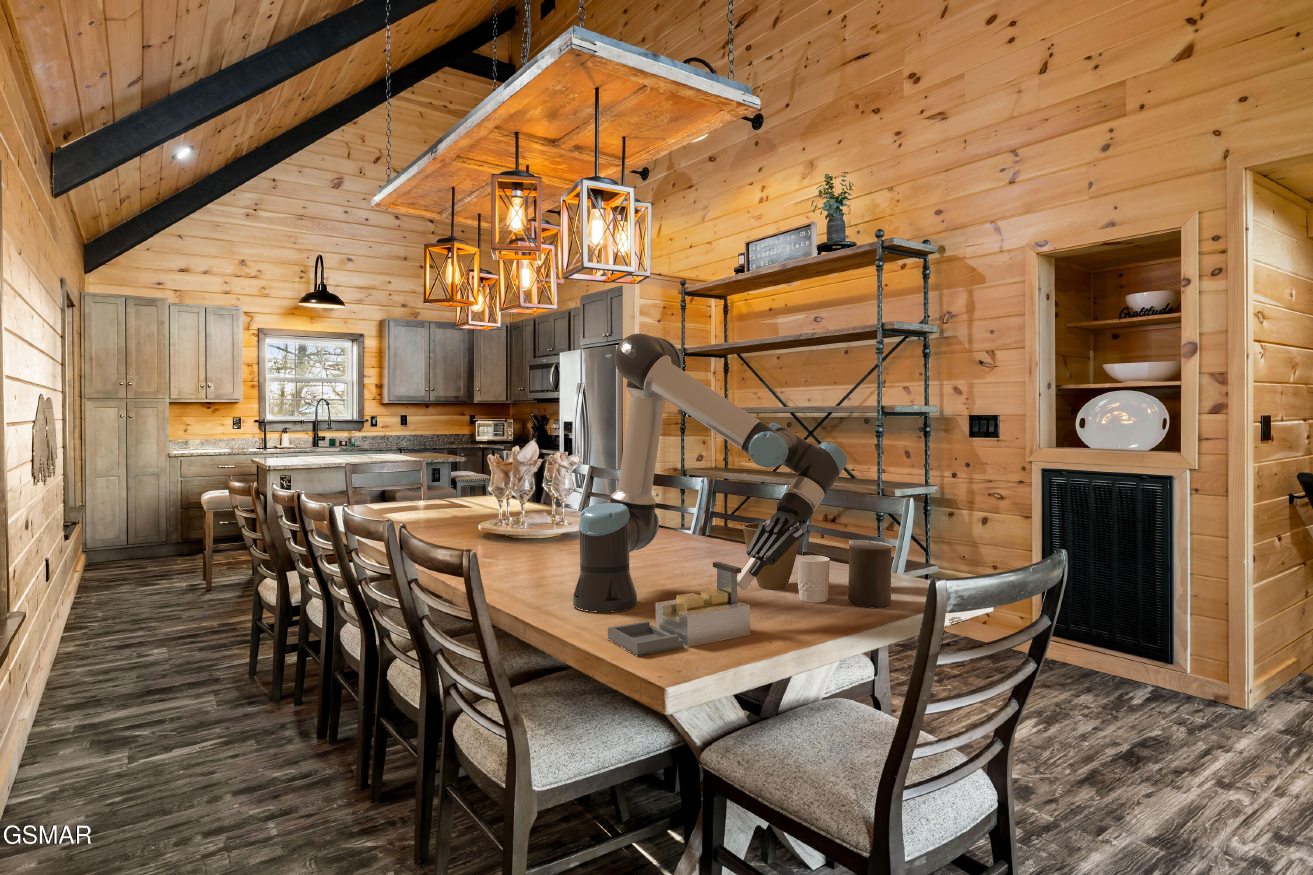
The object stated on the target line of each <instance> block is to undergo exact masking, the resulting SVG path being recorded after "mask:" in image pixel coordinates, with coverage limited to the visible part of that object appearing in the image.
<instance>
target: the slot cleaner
mask: <svg viewBox="0 0 1313 875" xmlns="http://www.w3.org/2000/svg"><path fill="white" fill-rule="evenodd" d="M712 568H715V569H716V589H717V590H720V591H723V592H726V593H728V604H733V603H738V585H737V576H738V574H740V573H741V571H742V567H739V566H736V565H733V564H728V563H724V562H722V561H713V562H712Z"/></svg>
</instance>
